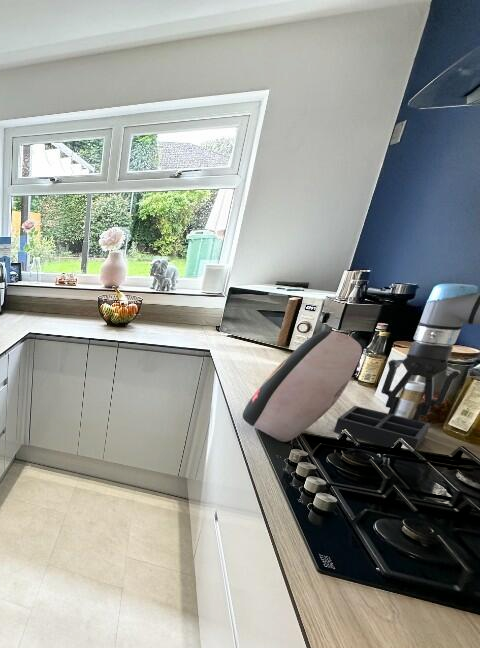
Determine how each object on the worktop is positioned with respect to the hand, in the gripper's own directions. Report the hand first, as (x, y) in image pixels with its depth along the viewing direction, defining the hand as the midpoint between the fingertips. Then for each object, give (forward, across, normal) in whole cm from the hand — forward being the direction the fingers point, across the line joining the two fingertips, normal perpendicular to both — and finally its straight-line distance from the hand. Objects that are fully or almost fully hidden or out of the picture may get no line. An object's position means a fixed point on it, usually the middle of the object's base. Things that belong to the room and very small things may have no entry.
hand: (401, 421), depth 115 cm
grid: (+2, -2, -13) cm, 13 cm away
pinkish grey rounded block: (+2, -17, -33) cm, 37 cm away
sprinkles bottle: (+2, 0, 0) cm, 2 cm away
